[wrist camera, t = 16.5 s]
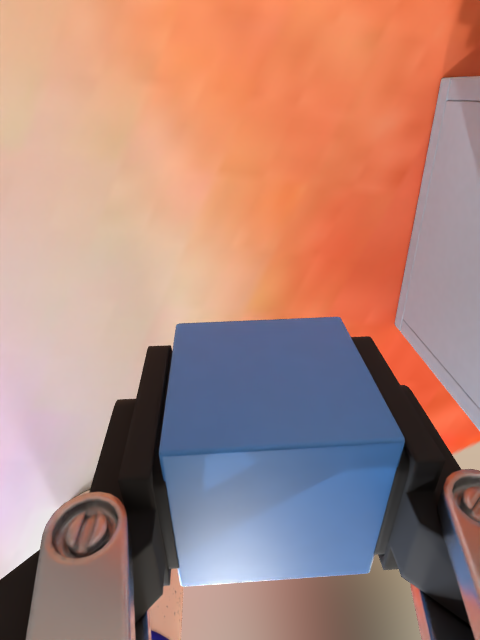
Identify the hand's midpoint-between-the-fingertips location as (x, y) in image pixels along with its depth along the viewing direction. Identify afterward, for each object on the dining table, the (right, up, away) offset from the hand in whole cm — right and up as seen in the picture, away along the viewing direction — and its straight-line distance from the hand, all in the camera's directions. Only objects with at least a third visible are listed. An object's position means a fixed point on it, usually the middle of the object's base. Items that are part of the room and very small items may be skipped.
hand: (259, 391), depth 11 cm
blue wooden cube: (0, 0, 0) cm, 0 cm away
